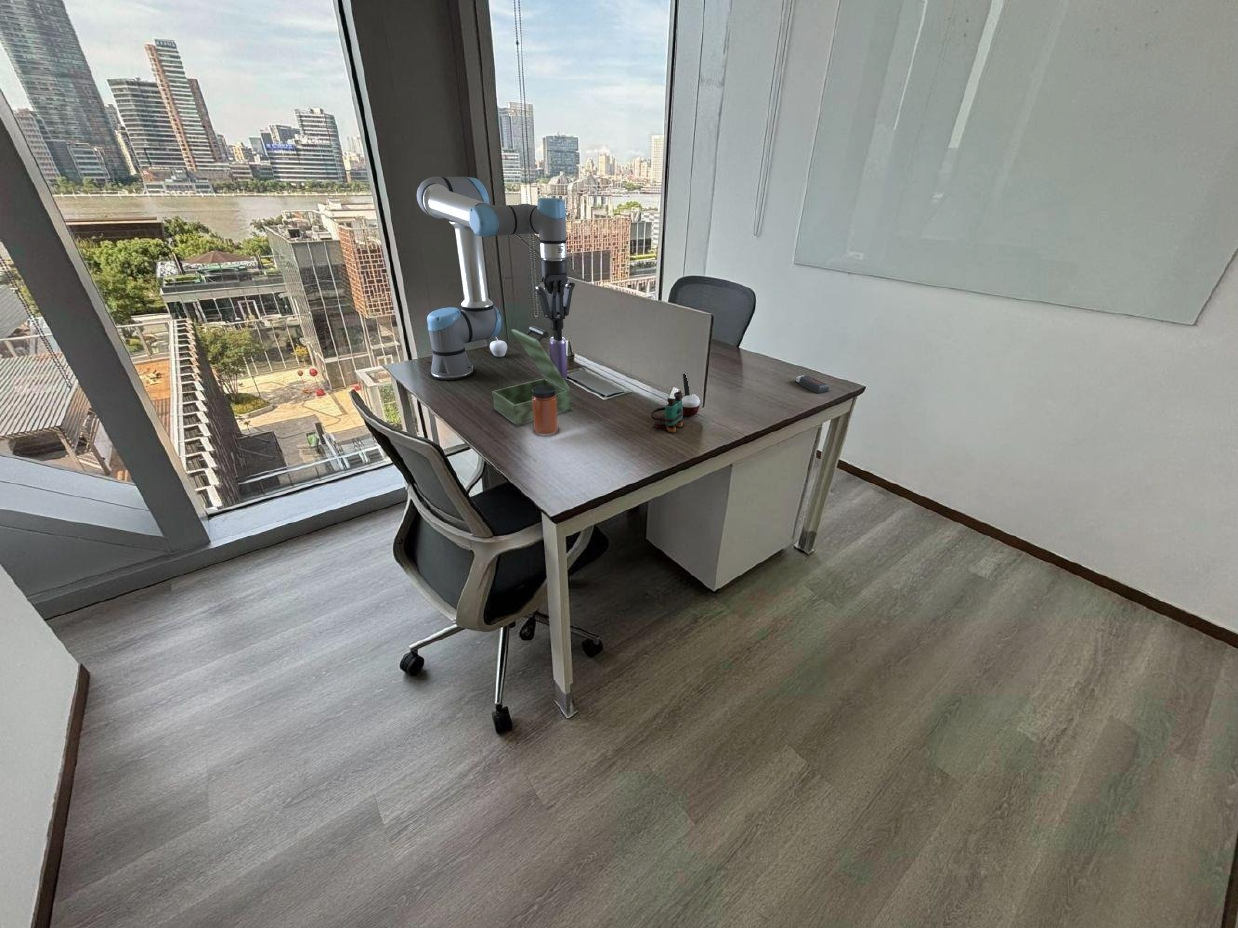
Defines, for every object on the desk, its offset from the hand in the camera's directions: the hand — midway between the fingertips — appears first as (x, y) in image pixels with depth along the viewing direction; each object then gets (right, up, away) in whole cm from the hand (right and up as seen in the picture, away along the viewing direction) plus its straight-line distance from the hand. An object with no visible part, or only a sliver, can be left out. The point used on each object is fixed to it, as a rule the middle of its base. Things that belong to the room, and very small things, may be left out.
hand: (557, 339), depth 153 cm
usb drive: (+90, -10, +28) cm, 95 cm away
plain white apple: (-31, +6, +52) cm, 61 cm away
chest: (-9, -22, +5) cm, 24 cm away
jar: (-3, -29, -7) cm, 30 cm away
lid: (-5, -7, -1) cm, 9 cm away
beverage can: (-3, -7, +31) cm, 32 cm away
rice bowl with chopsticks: (+42, -23, +5) cm, 48 cm away
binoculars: (+33, -27, -3) cm, 43 cm away
